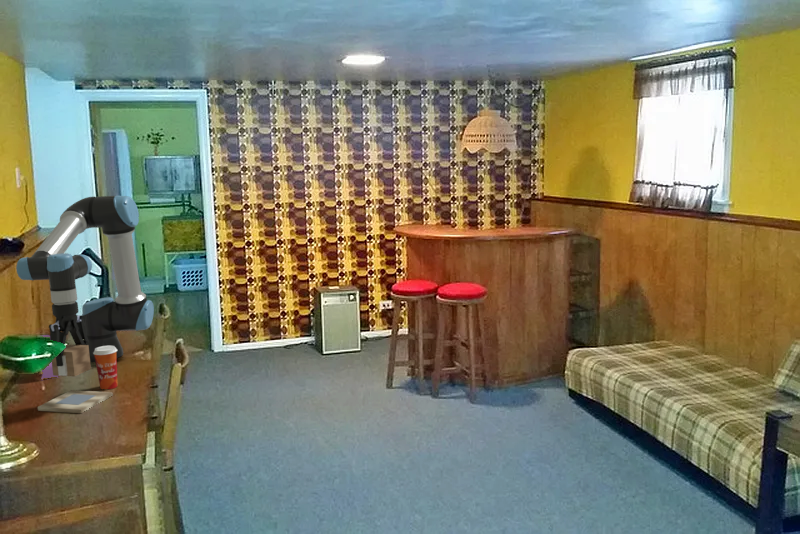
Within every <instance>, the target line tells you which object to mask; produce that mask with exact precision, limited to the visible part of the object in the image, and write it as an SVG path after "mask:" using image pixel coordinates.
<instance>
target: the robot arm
mask: <svg viewBox="0 0 800 534" xmlns="http://www.w3.org/2000/svg"><path fill="white" fill-rule="evenodd" d="M139 213H140V212H139V209H138V206H137V204H136V202H135V200H133V198H132V197H130V196H127V195H119V194H118V195H107V196H106V195H104V196H87V197H84V198H82V199H79V200H78V201H76V202H74V203H73V204H71V205H69V206H68V207H67V208H66V209H65V210H64V211H63V212H62V214H60V217H59V222H58V223H57V224H56V226H55V227H54V228H53V230H52V231H51V232H50V233H49V234H48V236H47V237H46V238H45V240H43V242H42V243H41V244H40V245H39V247H38V248H37V249H36V251H35V252H34V253H33V254H32V255H31V257H28V256H26V257H22V258H19V260H17V263H16V274H17V276H18V277H19V279H20V280H23V281H33V282H34V281H45V280H47V281H48V283H49V291H50V301H51V303H52V305H51V311H52V316H54V317H55V321H54V322H55V323H53V324H49V325H48V329H49V330H48V331H49V335H50V340H53V341H57V342H61V343H63V344H65V345H66V341H67V336H68V335H69V333H70V336H71V337H72V340H73V341H74V345H89V355H90V363H96V361H95V355H94V354H93V353H94V351H95V348H98V347H101V346H115V347H116V349H117V350H118V351H116V356H117V359H118V358H121V357H122V356H123V355H124V348H123V346H122V345H121V342H120V340H119V338H118V335H117V332H123V331H124V332H125V331H126V332H129V331H136V332H137V331H143V330H144V331H146V330H148V329H149V328H150V327H151V325H152V323H153V320H154V319H153V318H154V315H155V313H154V312H155V311H154V310H155V307H154V306H155V305H154V303H153V301H152V300H150V299H147V294H146V293H144V292H143V291H142V288H141V282H140V276H139V270H138V265H137V264H138V263H137V257H136V253H135V245H134V239H133V233H134V232H135V230H136V227H137V226H138V224H139V221H140V214H139ZM93 228H96V229H97V228H98V229H99V228H101V231H102V234H103V236H106V238H107V240H108V245H109V251H110V252H109V253H110V255H111V256H110V257H111V263H112V268H113V273H114V278H115V279H114V280H115V285H116V289H117V290H116V291H117V296H116V297H115V298H113V297H110V296H108V297H101V298H97V299H93V300H90V301H86V302H84V304H83V305H82V309H81V312H82V315H78V314H79V305H78V302H77V300H78V294H77V292H78V291H77V287H76V280H78V279H80V278H85V276H87V275H89V274H90V273H91V271H92V269H93V264H92V261H91V259H90V257H88V256H87V255H85V254H81V253H80V254H74V255H72V254H71V253H67V252H66V251H67V250H68V249H69V247H70V246H71V244H73V242H74V241H75V239H76V238H77V237H78V235H80V234H82V233H84V232H85V231H86V230H88V229H93ZM63 353H64V350H63V351H62V352H61V353H60V354H59V355H58V356H57V357H56V363H57V366H58V374H59V376H60V377H68V376H67V375H68V374H67V366H66V357H65V355H63Z"/></svg>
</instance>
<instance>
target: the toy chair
mask: <svg viewBox="0 0 800 534" xmlns="http://www.w3.org/2000/svg"><path fill="white" fill-rule="evenodd" d="M41 336H43V337H50V334H42V335H41ZM42 372H43V374H42V375H41V379H43V378H51V377H57V378H59V377H58V376H54V375H53V369H52V362H51V363H50V364H49V366H47V367H46V368H45V369H44V370H42ZM41 379H40V380H41Z"/></svg>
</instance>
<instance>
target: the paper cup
mask: <svg viewBox="0 0 800 534" xmlns="http://www.w3.org/2000/svg"><path fill="white" fill-rule="evenodd" d="M116 351H118V350H117V349H116V347H115V346H101V347H98V348H95V351H94V353H93V354H94V355H95V361H96V362H95V365H96V371H97V377H98V383H99V388H100V389H101V390H103V389H105V390H104V391H106V389H108V390H113V389H115V388H117V387H118V381H119V380H118V363H117V362H118V361H117V360H118V358H117V356H116Z"/></svg>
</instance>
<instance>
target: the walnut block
mask: <svg viewBox="0 0 800 534" xmlns="http://www.w3.org/2000/svg"><path fill="white" fill-rule="evenodd" d="M65 345H66V348H65V349H64V353H63V355H65V357H66V366H67V374H68V375H67V376H66V377H76V376H79V375H81V374H83V373H85V372H87V371H89V370H91V369H92V365H91V362H90V355H89V345H76V344H65ZM52 369H53V375H54V376H59V374H58V366H57V363H56V357H55V358H54V359H53V360H52Z"/></svg>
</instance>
